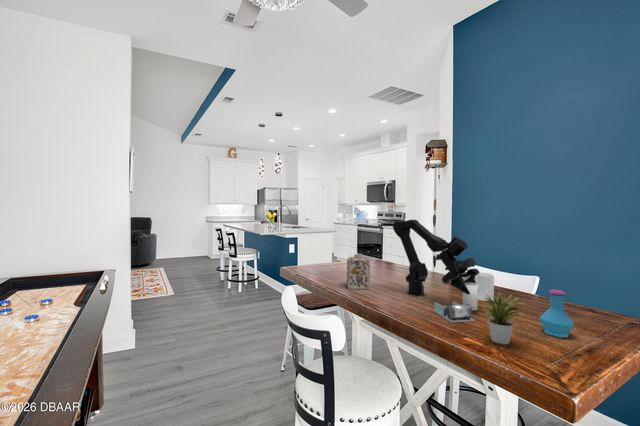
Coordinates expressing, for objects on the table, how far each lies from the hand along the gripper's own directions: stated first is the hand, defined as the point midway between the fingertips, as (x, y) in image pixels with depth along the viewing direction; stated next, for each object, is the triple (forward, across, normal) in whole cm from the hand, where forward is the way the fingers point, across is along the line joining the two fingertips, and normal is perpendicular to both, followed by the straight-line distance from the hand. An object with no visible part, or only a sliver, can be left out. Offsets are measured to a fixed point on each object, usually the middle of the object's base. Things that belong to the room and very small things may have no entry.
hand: (473, 293), depth 124 cm
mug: (-2, +22, +13) cm, 26 cm away
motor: (+5, -11, +7) cm, 14 cm away
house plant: (+21, -19, -9) cm, 30 cm away
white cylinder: (+4, 0, +6) cm, 7 cm away
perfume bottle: (+25, +6, -13) cm, 29 cm away
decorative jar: (-33, -18, +46) cm, 59 cm away
